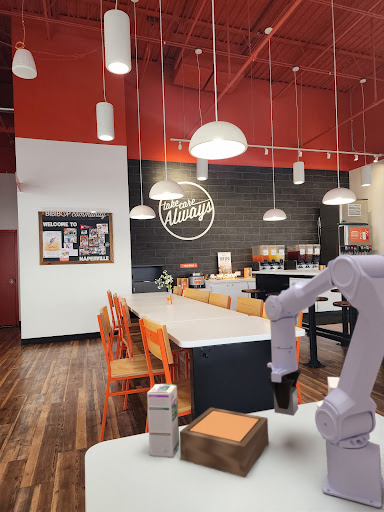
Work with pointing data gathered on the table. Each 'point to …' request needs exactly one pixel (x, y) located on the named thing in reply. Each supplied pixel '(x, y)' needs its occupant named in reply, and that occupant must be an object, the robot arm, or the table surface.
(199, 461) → the wooden box
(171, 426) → the syrup box
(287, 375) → the robot arm
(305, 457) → the table surface
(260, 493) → the table surface
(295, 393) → the gray block
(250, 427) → the orange flap
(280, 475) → the table surface
